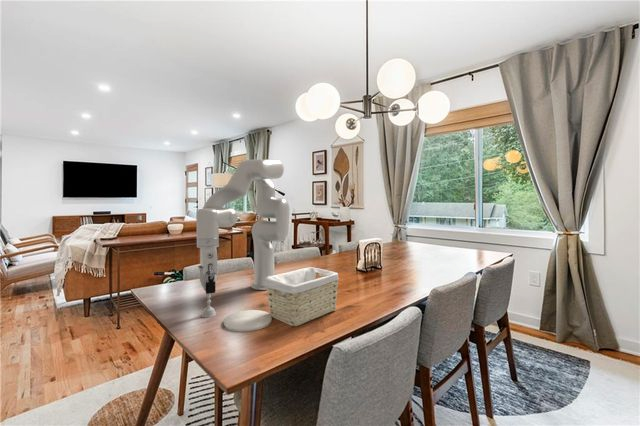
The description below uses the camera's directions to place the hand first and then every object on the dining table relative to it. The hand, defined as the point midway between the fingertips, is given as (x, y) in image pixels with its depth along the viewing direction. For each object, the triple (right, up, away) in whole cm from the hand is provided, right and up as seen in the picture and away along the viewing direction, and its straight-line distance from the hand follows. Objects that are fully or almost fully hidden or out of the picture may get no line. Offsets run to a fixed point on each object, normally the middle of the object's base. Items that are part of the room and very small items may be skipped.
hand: (208, 289), depth 112 cm
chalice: (0, -10, +1) cm, 10 cm away
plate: (+16, -10, -6) cm, 19 cm away
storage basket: (+34, -10, +2) cm, 36 cm away
